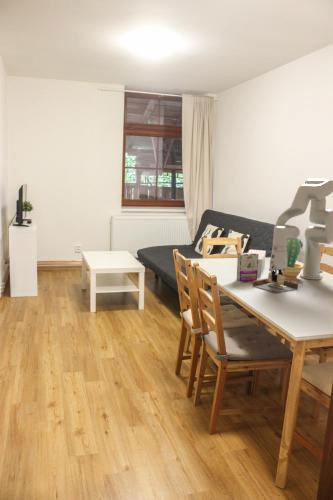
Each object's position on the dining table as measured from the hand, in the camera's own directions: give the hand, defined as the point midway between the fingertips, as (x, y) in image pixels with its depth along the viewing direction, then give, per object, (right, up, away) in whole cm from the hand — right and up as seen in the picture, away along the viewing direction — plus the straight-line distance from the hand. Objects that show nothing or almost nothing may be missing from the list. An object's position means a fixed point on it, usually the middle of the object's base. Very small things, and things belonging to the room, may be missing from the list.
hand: (276, 280), depth 243 cm
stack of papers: (-5, +4, +39) cm, 40 cm away
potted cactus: (+13, 0, +21) cm, 25 cm away
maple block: (-1, -1, +1) cm, 2 cm away
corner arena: (-2, -4, -2) cm, 5 cm away
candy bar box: (-15, -1, +10) cm, 18 cm away
